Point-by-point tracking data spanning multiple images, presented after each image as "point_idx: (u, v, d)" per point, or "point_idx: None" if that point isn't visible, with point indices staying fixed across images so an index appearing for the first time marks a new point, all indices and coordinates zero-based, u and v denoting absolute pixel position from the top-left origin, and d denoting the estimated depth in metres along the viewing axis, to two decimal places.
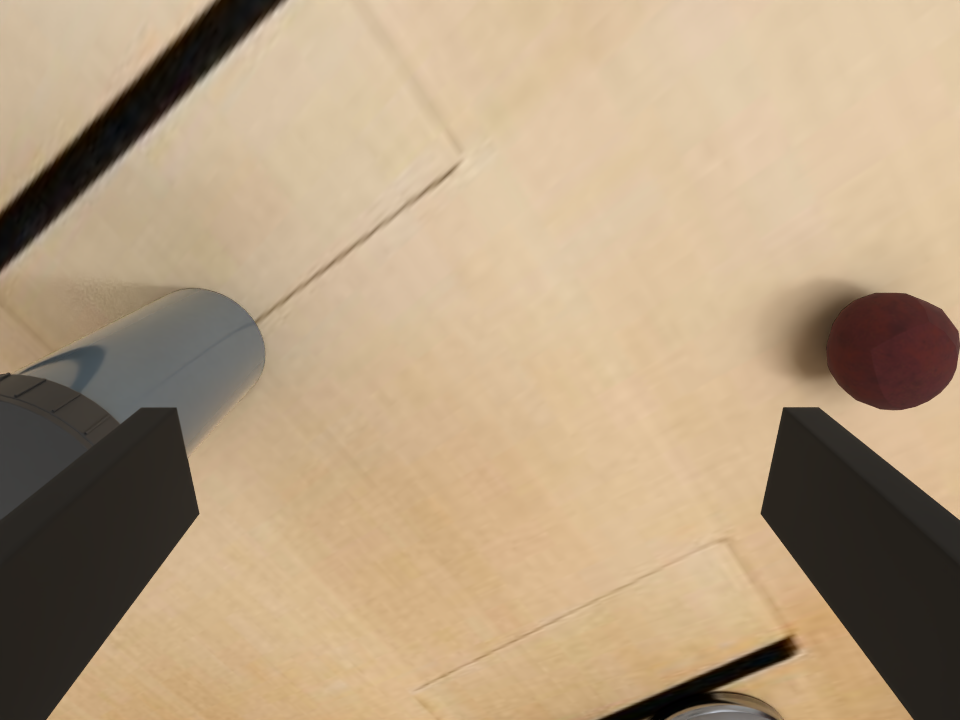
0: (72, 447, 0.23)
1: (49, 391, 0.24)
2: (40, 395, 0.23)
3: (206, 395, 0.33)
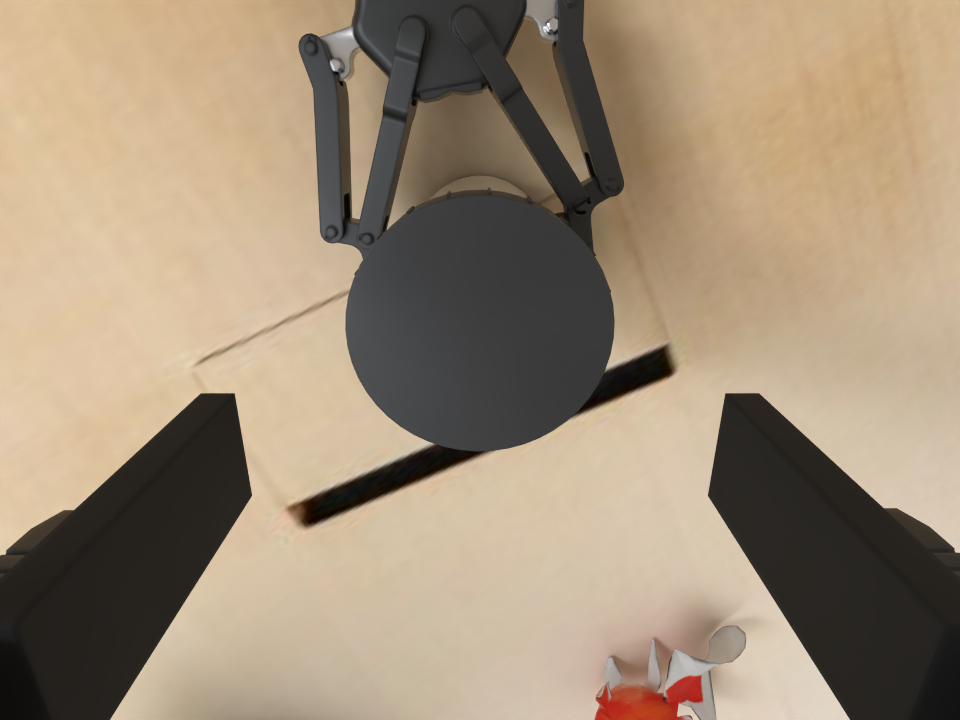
0: (371, 381, 0.21)
1: None
2: None
3: None
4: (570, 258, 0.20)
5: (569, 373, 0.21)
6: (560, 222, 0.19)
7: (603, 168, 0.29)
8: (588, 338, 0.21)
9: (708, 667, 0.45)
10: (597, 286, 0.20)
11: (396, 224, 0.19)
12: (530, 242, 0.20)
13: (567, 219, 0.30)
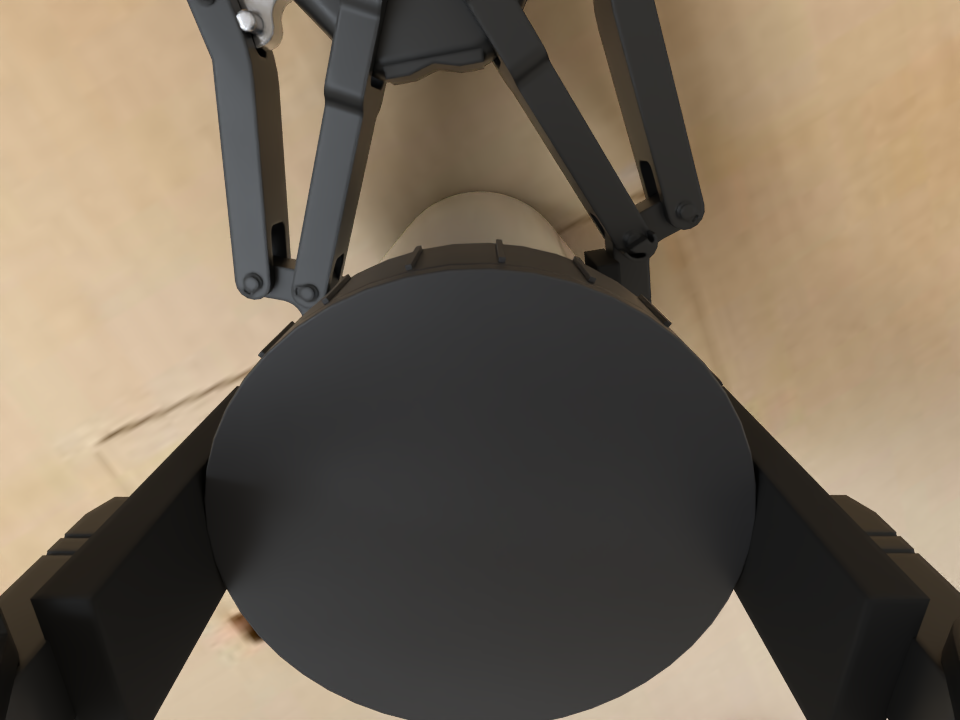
0: (267, 618, 0.11)
1: None
2: None
3: None
4: (674, 398, 0.09)
5: (657, 605, 0.11)
6: (657, 325, 0.09)
7: (673, 186, 0.19)
8: (700, 546, 0.10)
9: None
10: (727, 452, 0.10)
11: (297, 329, 0.09)
12: (589, 365, 0.09)
13: (615, 264, 0.19)
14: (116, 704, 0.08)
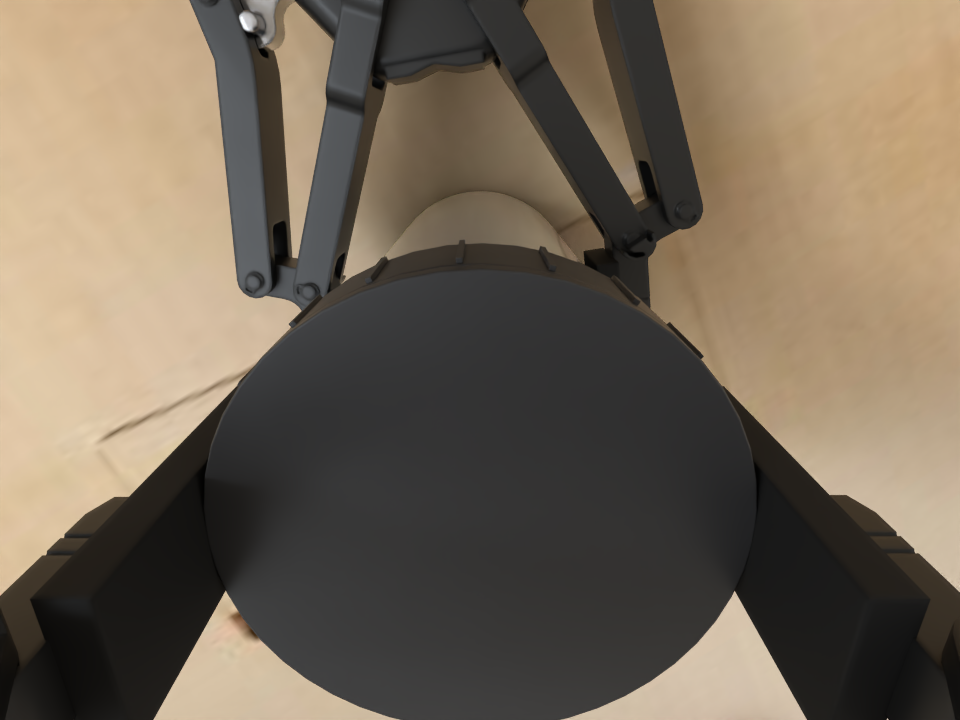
0: (521, 714, 0.12)
1: None
2: None
3: None
4: (354, 344, 0.09)
5: (623, 392, 0.09)
6: (272, 350, 0.09)
7: (672, 186, 0.19)
8: (550, 338, 0.09)
9: None
10: (430, 298, 0.09)
11: (245, 617, 0.11)
12: (306, 416, 0.09)
13: (614, 263, 0.20)
14: (116, 704, 0.08)
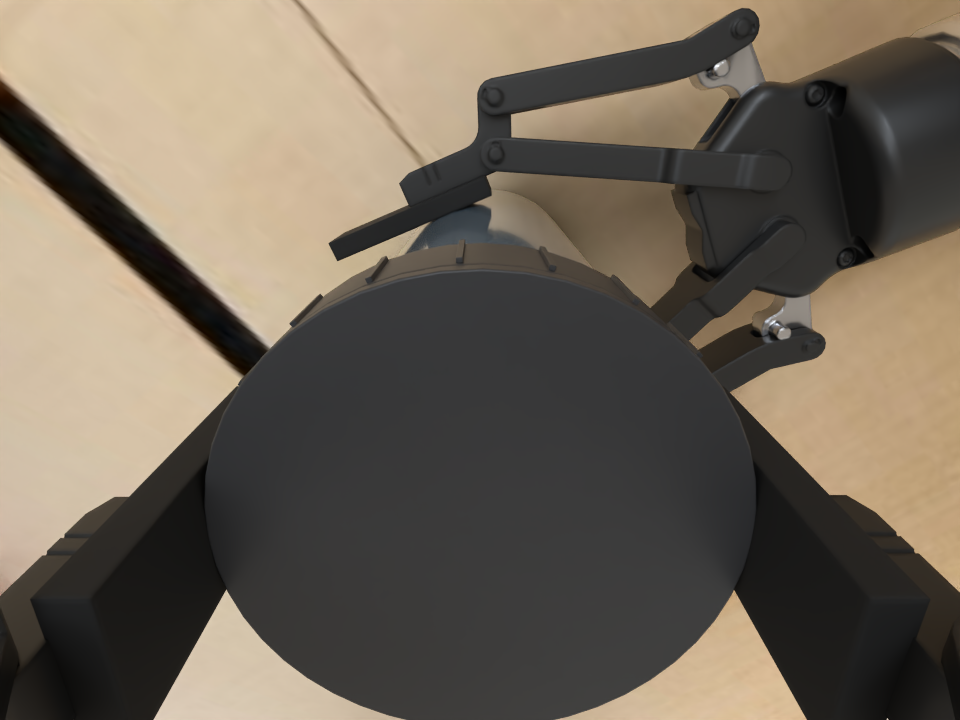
0: (521, 713, 0.12)
1: None
2: None
3: (472, 211, 0.20)
4: (354, 344, 0.09)
5: (623, 391, 0.09)
6: (273, 350, 0.09)
7: None
8: (550, 337, 0.09)
9: None
10: (430, 297, 0.09)
11: (245, 616, 0.11)
12: (306, 415, 0.09)
13: None
14: (116, 704, 0.08)
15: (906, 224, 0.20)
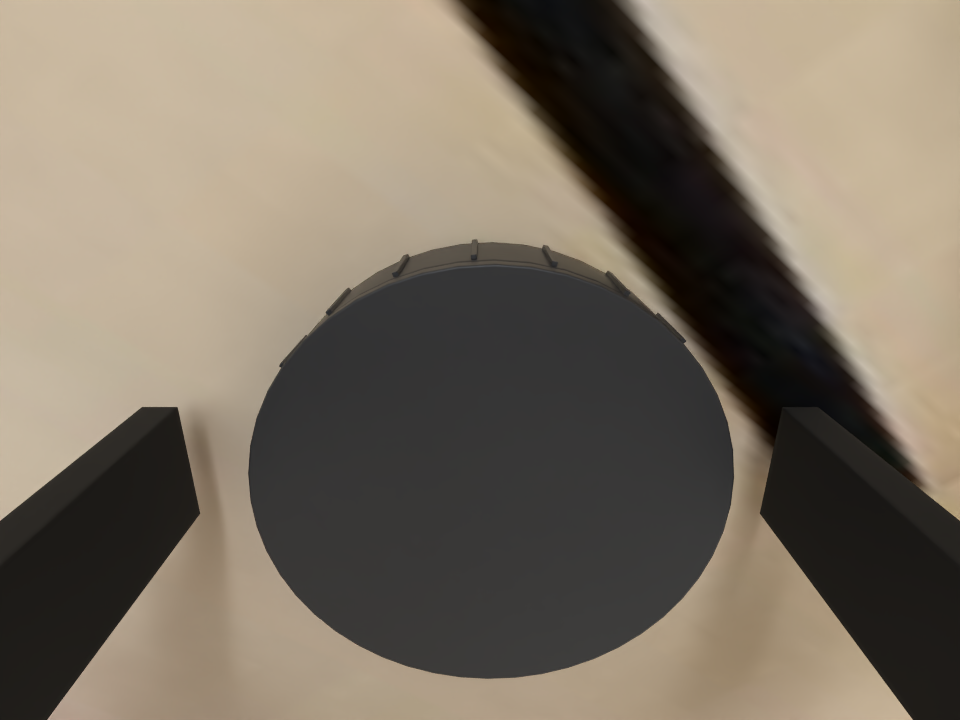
0: (526, 664, 0.13)
1: None
2: None
3: None
4: (383, 329, 0.10)
5: (615, 371, 0.11)
6: (313, 334, 0.10)
7: None
8: (552, 324, 0.10)
9: None
10: (449, 289, 0.10)
11: (281, 573, 0.12)
12: (340, 392, 0.11)
13: None
14: None
15: None
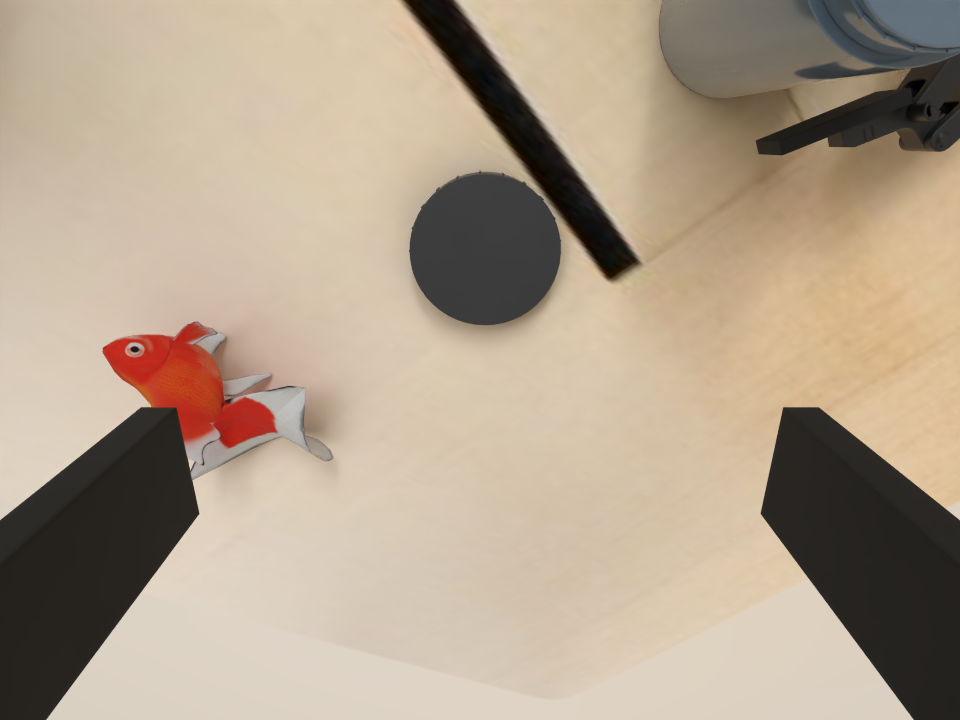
0: (497, 318, 0.39)
1: None
2: None
3: None
4: (454, 193, 0.36)
5: (521, 207, 0.36)
6: (433, 195, 0.36)
7: (956, 121, 0.29)
8: (502, 191, 0.36)
9: (293, 431, 0.39)
10: (473, 181, 0.35)
11: (417, 280, 0.38)
12: (440, 214, 0.36)
13: (911, 100, 0.29)
14: None
15: None
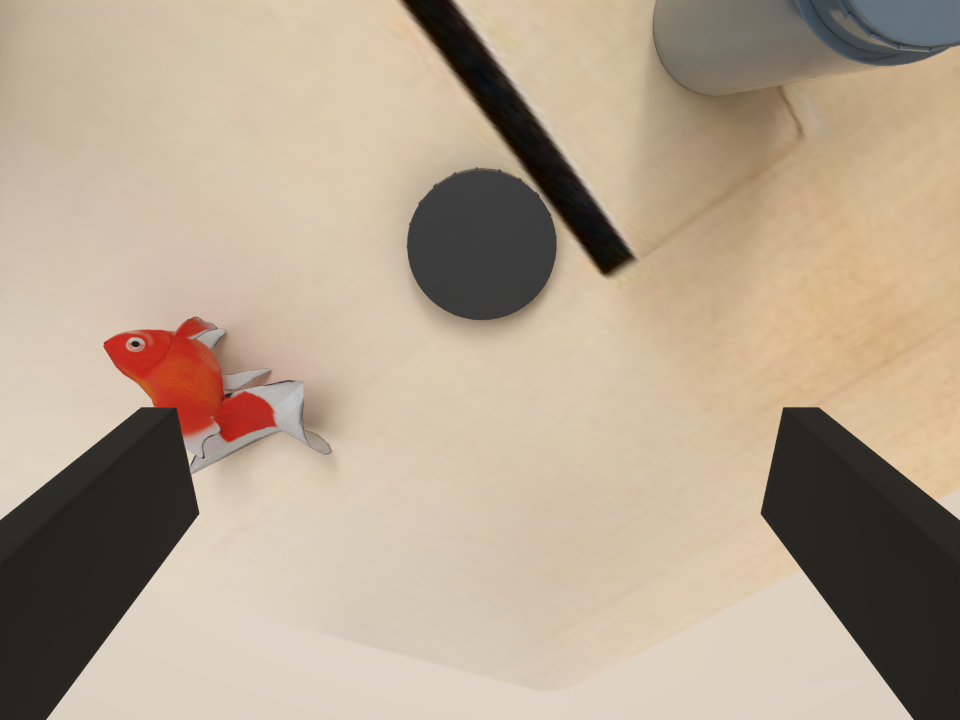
0: (494, 313, 0.39)
1: None
2: None
3: None
4: (450, 189, 0.36)
5: (517, 203, 0.36)
6: (430, 191, 0.36)
7: None
8: (499, 188, 0.36)
9: (292, 425, 0.39)
10: (469, 177, 0.36)
11: (414, 276, 0.38)
12: (437, 210, 0.37)
13: None
14: None
15: None
